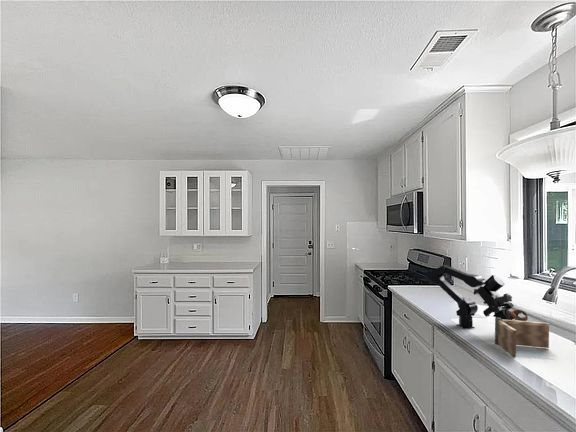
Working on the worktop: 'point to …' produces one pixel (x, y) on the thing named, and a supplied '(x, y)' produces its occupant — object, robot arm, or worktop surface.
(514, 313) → the pottery mug
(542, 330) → the fence swing panel
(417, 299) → the worktop surface
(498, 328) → the panel
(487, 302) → the robot arm
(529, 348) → the card
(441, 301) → the worktop surface
